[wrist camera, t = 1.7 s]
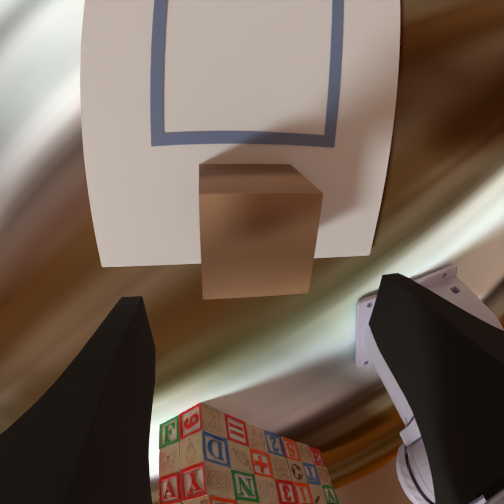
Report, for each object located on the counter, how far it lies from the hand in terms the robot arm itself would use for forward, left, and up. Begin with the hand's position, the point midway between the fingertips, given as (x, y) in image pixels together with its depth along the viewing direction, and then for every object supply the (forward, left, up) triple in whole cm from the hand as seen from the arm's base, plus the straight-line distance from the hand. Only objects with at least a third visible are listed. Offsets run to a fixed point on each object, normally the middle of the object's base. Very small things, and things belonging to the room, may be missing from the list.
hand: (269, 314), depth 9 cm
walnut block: (0, 0, -8) cm, 8 cm away
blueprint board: (-2, -8, -9) cm, 12 cm away
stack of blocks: (+5, +27, -9) cm, 29 cm away
